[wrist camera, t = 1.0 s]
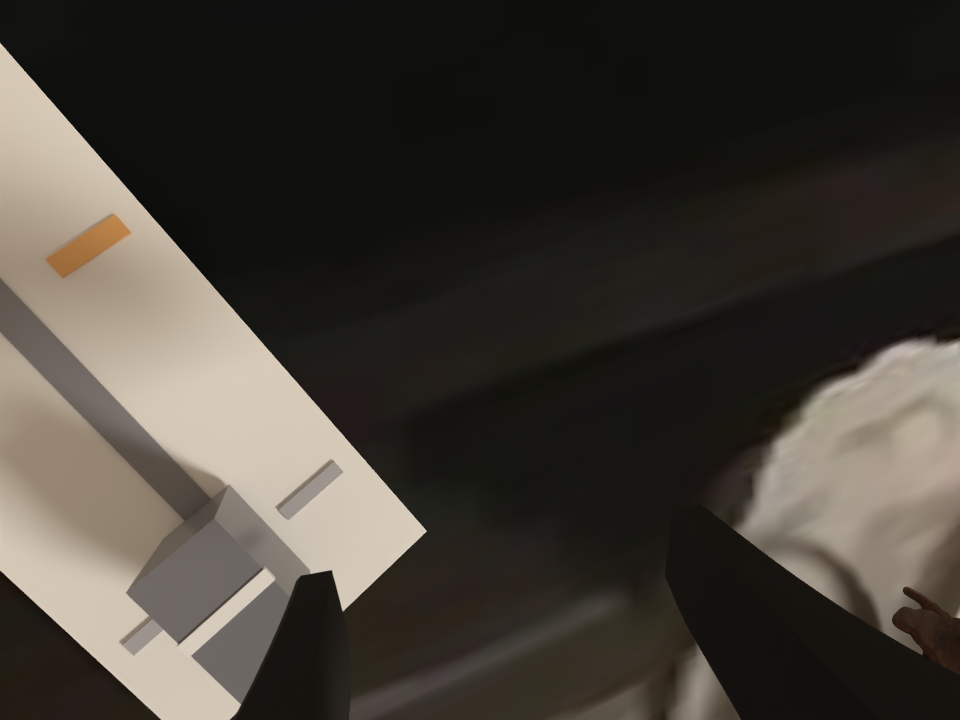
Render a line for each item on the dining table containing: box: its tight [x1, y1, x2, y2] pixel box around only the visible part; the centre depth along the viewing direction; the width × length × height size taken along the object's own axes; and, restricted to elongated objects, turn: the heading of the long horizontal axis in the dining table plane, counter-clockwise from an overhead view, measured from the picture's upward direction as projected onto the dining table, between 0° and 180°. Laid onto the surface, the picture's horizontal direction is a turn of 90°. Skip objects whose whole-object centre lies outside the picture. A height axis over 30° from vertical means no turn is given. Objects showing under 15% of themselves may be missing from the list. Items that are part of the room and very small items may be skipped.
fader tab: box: [126, 484, 311, 704], centre depth 17 cm, size 3×4×5 cm, turn 39°
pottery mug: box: [892, 587, 960, 675], centre depth 28 cm, size 12×10×8 cm
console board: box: [0, 44, 426, 720], centre depth 19 cm, size 10×22×2 cm, turn 39°
